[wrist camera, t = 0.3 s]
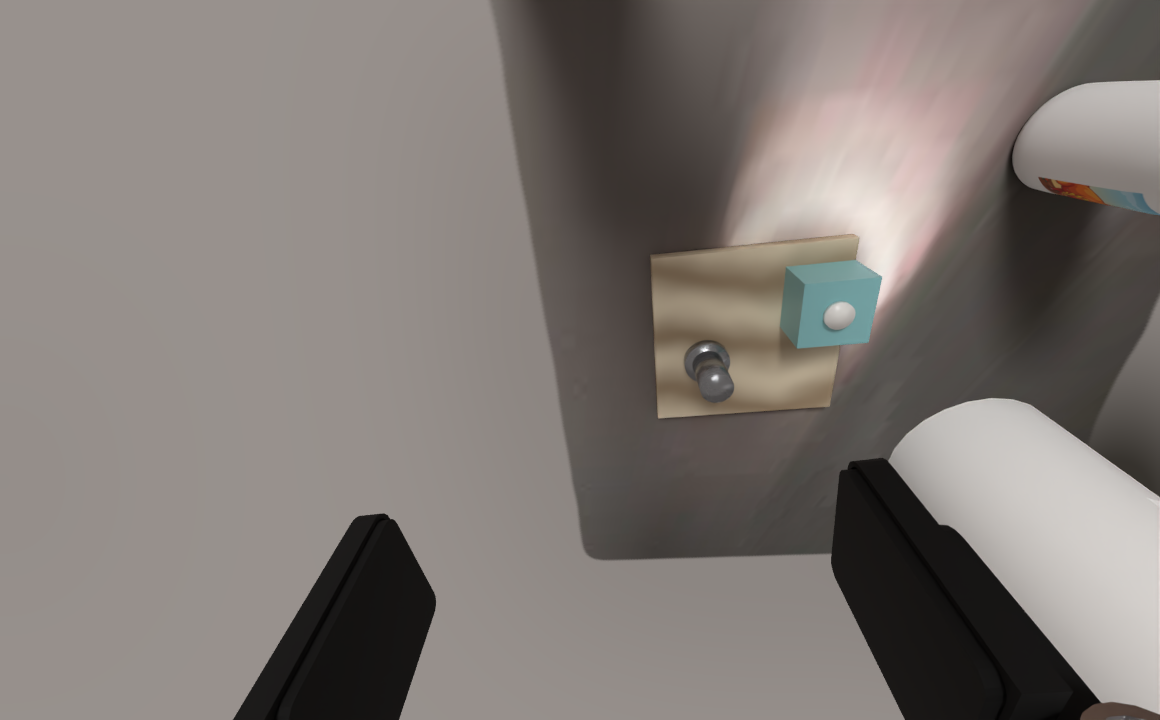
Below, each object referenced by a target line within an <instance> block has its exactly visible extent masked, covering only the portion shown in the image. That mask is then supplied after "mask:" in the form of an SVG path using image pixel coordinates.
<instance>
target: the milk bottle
mask: <svg viewBox="0 0 1160 720" xmlns="http://www.w3.org/2000/svg"><path fill="white" fill-rule="evenodd" d="M1012 164H1013V168H1014V172H1015V173H1016V175H1017V176H1018V178H1019V179H1020V181H1021V182H1022V183H1024V184H1025V185H1026V186H1028V187H1030V188H1033V189H1036V190H1040V191H1044V192H1048V193H1053V194H1058V195H1062V196H1067V197H1072V198H1076V199H1081V200H1086V201H1090V202H1095V203H1100V204H1105V205H1109V206H1114V207H1119V208H1124V209H1129V210H1134V211H1139V212H1144V213H1149V214H1155V215H1160V80H1156V81H1122V82H1099V83H1087V84H1082V85H1079V86H1075V87H1073V88H1070V89H1068V90H1066V91H1064V92H1062V93H1060V94H1058V95H1057V96H1055V97H1053V98H1052V99H1050V100H1048V101H1047V102H1046V103H1045V104H1044V105H1042V106H1041V107H1040V108H1039V109H1038V110H1037V111H1036V112H1035V113H1034V114H1033V115H1032V116H1031V117H1030V118H1029V120H1028V121H1027V122H1026V124H1025V125H1024V126H1023V128H1022V130H1021V132H1020V133H1019V135H1018V137H1017V140H1016V142H1015V145H1014V149H1013V154H1012Z"/></svg>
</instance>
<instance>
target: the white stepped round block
mask: <svg viewBox="0 0 1160 720" xmlns="http://www.w3.org/2000/svg"><path fill="white" fill-rule="evenodd" d="M888 462H889V463H890V464H891V465H892V467H893V468H894V469H895V470H896V471H897V473H898V474H899V475H900V476H901V478H902V479H903V480H904V481H905V483H906V484H907V485H908V486H909V488H910V489H911V490H912V491H913V493H914V494H915V495H916V496H917V498H918V499H919V500H920V501H921V503H922V504H923V505H924V506H925V508H926V509H927V510H928V511H929V513H930V514H931V515H932V516H933V518H934V519H935V520H936V521H937V523H938V524H939V525H948V526H950V527H952V528H953V529H955V530H956V531H957V532H958V533H959V534H960V535H961V536H962V537H963V538H964V539H965V540H966V541H967V542H968V544H969V545H970V546H971V547H972V548H973V550H974V551H975V552H976V553H977V554H978V556H979V557H980V558H981V559H982V560H983V562H984V563H985V564H986V565H987V566H988V568H989V569H990V570H991V571H992V572H993V574H994V575H995V576H996V577H997V578H998V580H999V581H1000V582H1001V583H1002V584H1003V586H1004V587H1005V588H1006V589H1007V590H1008V592H1009V593H1010V594H1011V595H1012V596H1013V598H1014V599H1015V600H1016V601H1017V602H1018V604H1019V605H1020V606H1021V607H1022V608H1023V610H1024V611H1025V612H1026V613H1027V614H1028V615H1029V617H1030V618H1031V619H1032V620H1033V621H1034V623H1035V624H1036V625H1037V626H1038V627H1039V629H1040V630H1041V631H1042V632H1043V633H1044V635H1045V636H1046V637H1047V638H1048V639H1049V641H1050V642H1051V643H1052V644H1053V645H1054V647H1055V648H1056V649H1057V650H1058V651H1059V653H1060V654H1061V655H1062V656H1063V657H1064V659H1065V660H1066V661H1067V662H1068V663H1069V665H1070V666H1071V667H1072V668H1073V669H1074V671H1075V672H1076V673H1077V674H1078V675H1079V677H1080V678H1081V679H1082V680H1083V681H1084V683H1085V684H1086V685H1087V686H1088V687H1089V689H1090V690H1091V691H1092V692H1093V693H1094V695H1095V696H1096V697H1097V698H1098V699H1099V700H1100V702H1101V703H1107V702H1117V703H1123V704H1129V705H1135V706H1138V707H1141V708H1144V709H1146V710H1149V711H1152V712H1155V713H1157V714H1160V497H1158V496H1157V495H1156V494H1154V493H1153V492H1151V491H1150V490H1149V489H1147V488H1146V487H1144V486H1143V485H1142V484H1140V483H1139V482H1137V481H1136V480H1135V479H1133V478H1132V477H1131V476H1129V475H1128V474H1126V473H1125V472H1123V471H1122V470H1121V469H1119V468H1118V467H1116V466H1115V465H1114V464H1112V463H1111V462H1110V461H1108V460H1106V459H1105V458H1104V457H1103V456H1101V455H1100V454H1098V453H1097V452H1096V451H1094V450H1093V449H1091V448H1090V447H1089V446H1087V445H1086V444H1085V443H1083V442H1082V441H1080V440H1079V439H1078V438H1076V437H1075V436H1073V435H1072V434H1071V433H1069V432H1068V431H1066V430H1065V429H1064V428H1062V427H1061V426H1059V425H1058V424H1057V423H1055V422H1054V421H1052V420H1051V419H1050V418H1048V417H1047V416H1045V415H1044V414H1043V413H1041V412H1040V411H1038V410H1037V409H1036V408H1034V407H1033V406H1032V405H1030V404H1026V403H1023V402H1020V401H1016V400H1013V399H996V398H989V399H983V400H976V401H970V402H966V403H963V404H960V405H957V406H954V407H951V408H948V409H945V410H943V411H941V412H939V413H937V414H935V415H933V416H932V417H930V418H928V419H926V420H924V421H923V422H921V423H920V424H919V425H918V426H916V427H915V428H914V429H913V430H911V431H910V432H909V433H907V434H906V435H905V437H904V438H903V439H902V440H901V441H900V443H899V444H898V445H897V446H896V447H895V449H894V450H893V452H892V455H891V457H890V459H889V461H888Z"/></svg>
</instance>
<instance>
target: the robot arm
mask: <svg viewBox="0 0 1160 720" xmlns="http://www.w3.org/2000/svg"><path fill="white" fill-rule="evenodd" d="M831 564H832V568H833V573H834V576H835V578H836V581H837V583H838V584H839V587H840V588H841V591H842V592H843V595H844V597H845V599H846V601H847V603H848V605H849V607H850V609H851V611H852V613H853V615H854V617H855V619H856V621H857V623H858V625H859V627H860V629H861V631H862V633H863V635H864V637H865V639H866V642H867V644H868V646H869V647H870V649H871V652H872V654H873V656H874V658H875V660H876V662H877V664H878V666H879V668H880V670H881V672H882V674H883V676H884V678H885V680H886V682H887V684H888V686H889V688H890V690H891V692H892V694H893V696H894V698H895V700H896V702H897V704H898V707H899V709H900V711H901V713H902V715H903V716H904V718H905V720H1160V714H1157V713H1155V712H1152V711H1149V710H1146V709H1144V708H1141V707H1138V706H1135V705H1129V704H1123V703H1117V702H1107V703H1101V702H1100V700H1099V699H1098V698H1097V697H1096V696H1095V695H1094V693H1093V692H1092V691H1091V690H1090V689H1089V687H1088V686H1087V685H1086V684H1085V683H1084V681H1083V680H1082V679H1081V678H1080V677H1079V675H1078V674H1077V673H1076V672H1075V671H1074V669H1073V668H1072V667H1071V666H1070V665H1069V663H1068V662H1067V661H1066V660H1065V659H1064V657H1063V656H1062V655H1061V654H1060V653H1059V651H1058V650H1057V649H1056V648H1055V647H1054V645H1053V644H1052V643H1051V642H1050V641H1049V639H1048V638H1047V637H1046V636H1045V635H1044V633H1043V632H1042V631H1041V630H1040V629H1039V627H1038V626H1037V625H1036V624H1035V623H1034V621H1033V620H1032V619H1031V618H1030V617H1029V615H1028V614H1027V613H1026V612H1025V611H1024V610H1023V608H1022V607H1021V606H1020V605H1019V604H1018V602H1017V601H1016V600H1015V599H1014V598H1013V596H1012V595H1011V594H1010V593H1009V592H1008V590H1007V589H1006V588H1005V587H1004V586H1003V584H1002V583H1001V582H1000V581H999V580H998V578H997V577H996V576H995V575H994V574H993V572H992V571H991V570H990V569H989V568H988V566H987V565H986V564H985V563H984V562H983V560H982V559H981V558H980V557H979V556H978V554H977V553H976V552H975V551H974V550H973V548H972V547H971V546H970V545H969V544H968V542H967V541H966V540H965V539H964V538H963V537H962V536H961V535H960V534H959V533H958V532H957V531H956V530H955V529H953V528H952V527H950V526H948V525H939V524H938V523H937V521H936V520H935V519H934V518H933V516H932V515H931V514H930V513H929V511H928V510H927V509H926V508H925V506H924V505H923V504H922V503H921V501H920V500H919V499H918V498H917V496H916V495H915V494H914V493H913V491H912V490H911V489H910V488H909V486H908V485H907V484H906V483H905V481H904V480H903V479H902V478H901V476H900V475H899V474H898V473H897V471H896V470H895V469H894V468H893V467H892V465H891V464H890V463H889V462H888V461H887V460H886V459H884V458H878V459H869V460H860V461H852V462H850V463H849V465H848V470H841V472H840V475H839V484H838V494H837V505H836V515H835V525H834V535H833V546H832V556H831ZM435 607H436V598H435V594H434V592H433V590H432V588H431V586H430V584H429V582H428V581H427V579H426V577H425V575H424V573H423V571H422V570H421V567H420V566H419V564H418V562H417V560H416V558H415V556H414V554H413V552H412V551H411V549H410V547H409V545H408V543H407V541H406V539H405V538H404V536H403V534H402V532H401V530H400V528H399V526H398V524H397V523H396V522H395V520H393V519H390V518H389V517H388V515H386V514H374V515H365V516H358V517H357V518H355V519H354V520H353V522H352V523H351V525H350V526H349V528H348V530H347V531H346V533H345V535H344V536H343V538H342V540H341V541H340V543H339V545H338V546H337V548H336V549H335V551H334V553H333V555H332V556H331V558H330V559H329V561H328V563H327V565H326V566H325V568H324V569H323V571H322V573H321V575H320V576H319V578H318V580H317V581H316V583H315V585H314V586H313V588H312V589H311V591H310V593H309V595H308V596H307V598H306V600H305V601H304V603H303V604H302V606H301V608H300V610H299V611H298V613H297V614H296V616H295V618H294V619H293V621H292V623H291V624H290V626H289V628H288V629H287V631H286V633H285V634H284V636H283V638H282V639H281V641H280V643H279V644H278V646H277V648H276V649H275V651H274V653H273V654H272V656H271V658H270V659H269V661H268V663H267V664H266V666H265V668H264V669H263V671H262V673H261V674H260V676H259V677H258V679H257V681H256V682H255V684H254V686H253V687H252V689H251V691H250V692H249V694H248V696H247V697H246V699H245V701H244V703H243V704H242V706H241V708H240V709H239V711H238V712H237V714H236V716H235V717H234V719H233V720H399V718H400V715H401V712H402V709H403V706H404V703H405V700H406V697H407V694H408V691H409V687H410V685H411V682H412V679H413V676H414V673H415V670H416V667H417V663H418V661H419V657H420V654H421V651H422V648H423V645H424V642H425V639H426V636H427V633H428V630H429V627H430V624H431V621H432V618H433V615H434V612H435Z"/></svg>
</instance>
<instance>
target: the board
mask: <svg viewBox="0 0 1160 720" xmlns="http://www.w3.org/2000/svg"><path fill="white" fill-rule="evenodd" d="M858 243H859V237H858V236H856V235H854V234H848V235H839V236H829V237H819V238H810V239H800V240H790V241H781V242H771V243H761V244H751V245H742V246H732V247H722V248H713V249H703V250H693V251H684V252H674V253H664V254H655V255H650V265H651V287H652V309H653V331H654V354H655V376H656V398H657V414H658V418H672V417H686V416H700V415H715V414H729V413H743V412H757V411H771V410H786V409H800V408H814V407H828V406H830V400H831V395H832V389H833V384H834V378H835V372H836V367H837V361H838V355H839V350H840V345H834V346H822V347H810V348H796V347H795V346H794V344H793V343H792V342H791V340H790V339H789V338H788V337H787V335H786V334H785V333H784V331H783V330H782V329H781V327H780V319H781V310H782V300H783V290H784V281H785V271H786V267H788V266H798V265H809V264H819V263H829V262H839V261H849V260H856V254H857V249H858ZM703 340H713V341H716V342H719V343H720V344H722V345H723V346H724V347H725V349H726V351H727V353H728V355H729V357H730V367H729V369H728V372H729V374H730V377H731V379H732V381H733V383H734V392H733V394H732V395H731V396H730V397H729V398H728V399H727V400H725V401H723V402H719V403H712V402H709V401H707V400H705V399H704V398H703V397H702V395H701V392H700V389H699V386H698V383H697V381H694V380H693V379H691V378H690V377H689V376H688V374H687V372H686V370H685V366H684V356H685V353H686V351H687V350H688V349H689V348H690V347H691V346H692V345H693V344H695V343H697V342H700V341H703Z"/></svg>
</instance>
